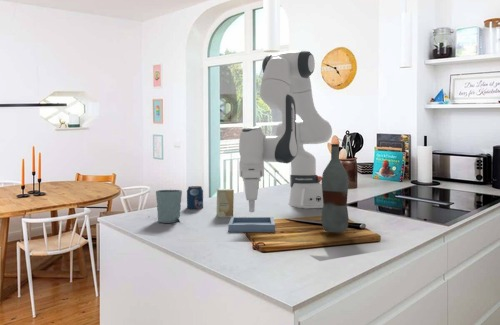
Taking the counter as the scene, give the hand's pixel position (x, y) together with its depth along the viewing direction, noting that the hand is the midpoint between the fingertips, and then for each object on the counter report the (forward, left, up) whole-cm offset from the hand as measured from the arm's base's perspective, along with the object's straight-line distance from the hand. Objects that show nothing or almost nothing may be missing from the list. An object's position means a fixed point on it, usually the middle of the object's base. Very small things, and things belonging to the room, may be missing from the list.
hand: (252, 209), depth 156 cm
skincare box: (+11, -17, -7) cm, 21 cm away
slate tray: (0, 0, -6) cm, 6 cm away
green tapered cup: (+33, -15, -7) cm, 37 cm away
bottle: (-29, +5, -7) cm, 30 cm away
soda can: (+25, -31, -7) cm, 40 cm away
